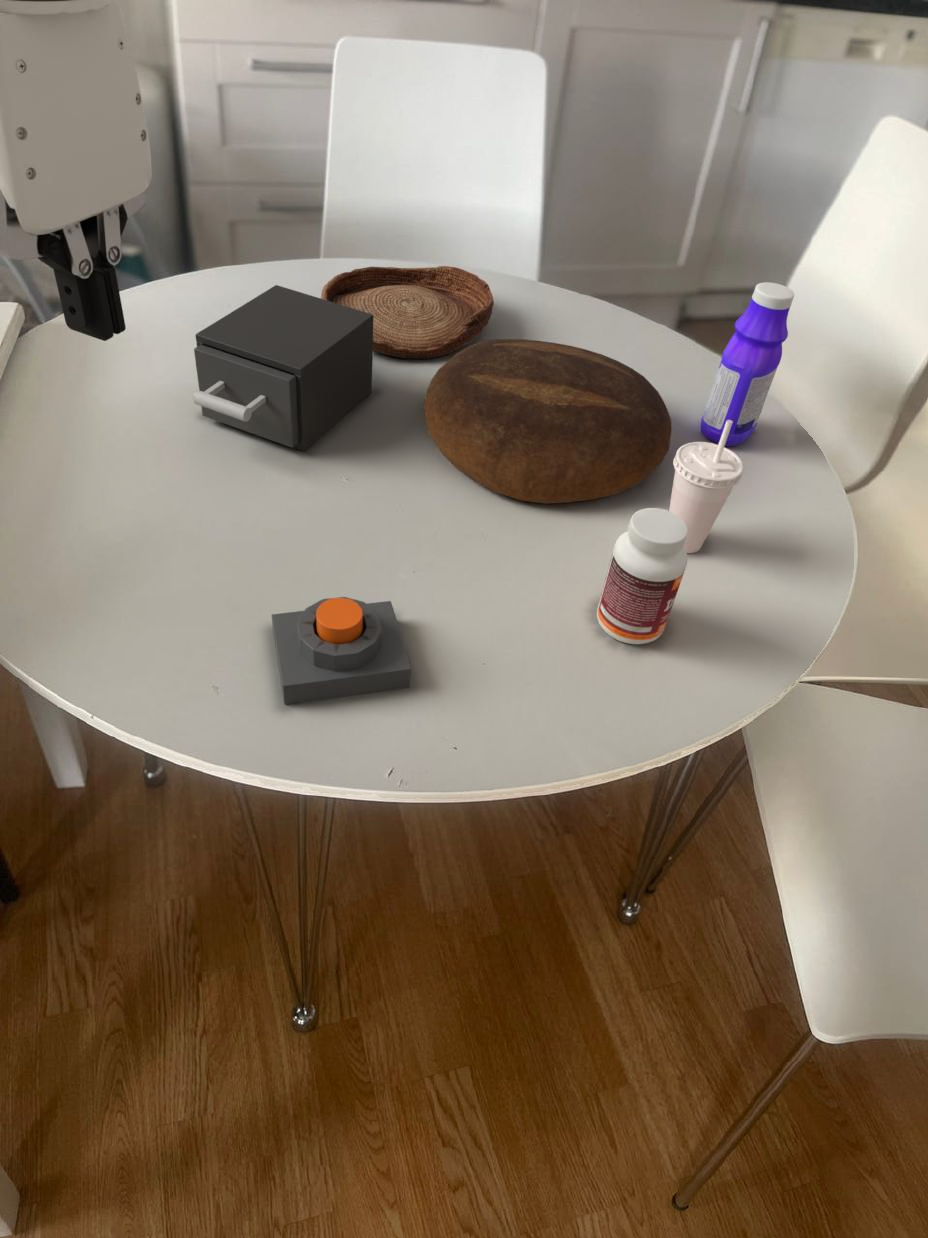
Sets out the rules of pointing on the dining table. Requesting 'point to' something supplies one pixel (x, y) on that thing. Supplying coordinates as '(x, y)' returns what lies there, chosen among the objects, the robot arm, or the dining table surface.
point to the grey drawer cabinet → (304, 351)
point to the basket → (416, 307)
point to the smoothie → (703, 485)
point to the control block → (339, 655)
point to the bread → (546, 420)
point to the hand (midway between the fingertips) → (96, 329)
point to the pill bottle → (643, 577)
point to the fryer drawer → (247, 395)
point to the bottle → (748, 365)
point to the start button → (339, 621)
